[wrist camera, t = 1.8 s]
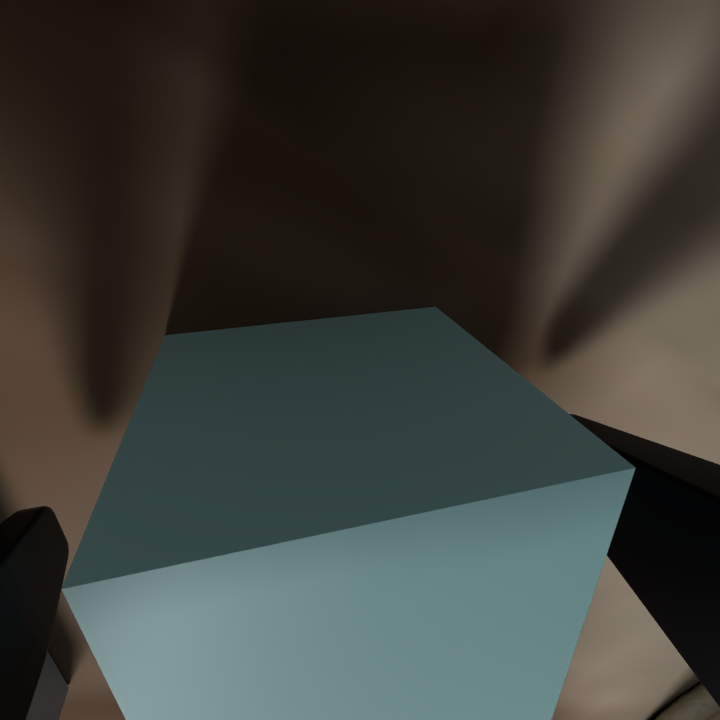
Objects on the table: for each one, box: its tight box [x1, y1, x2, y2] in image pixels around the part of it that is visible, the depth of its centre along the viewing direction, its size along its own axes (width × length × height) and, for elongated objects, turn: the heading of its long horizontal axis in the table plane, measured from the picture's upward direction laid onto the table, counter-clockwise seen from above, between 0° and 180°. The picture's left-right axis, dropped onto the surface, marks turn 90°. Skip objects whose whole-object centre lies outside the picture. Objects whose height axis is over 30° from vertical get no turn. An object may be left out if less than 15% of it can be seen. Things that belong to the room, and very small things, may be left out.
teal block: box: [61, 307, 635, 720], centre depth 7 cm, size 5×5×5 cm
